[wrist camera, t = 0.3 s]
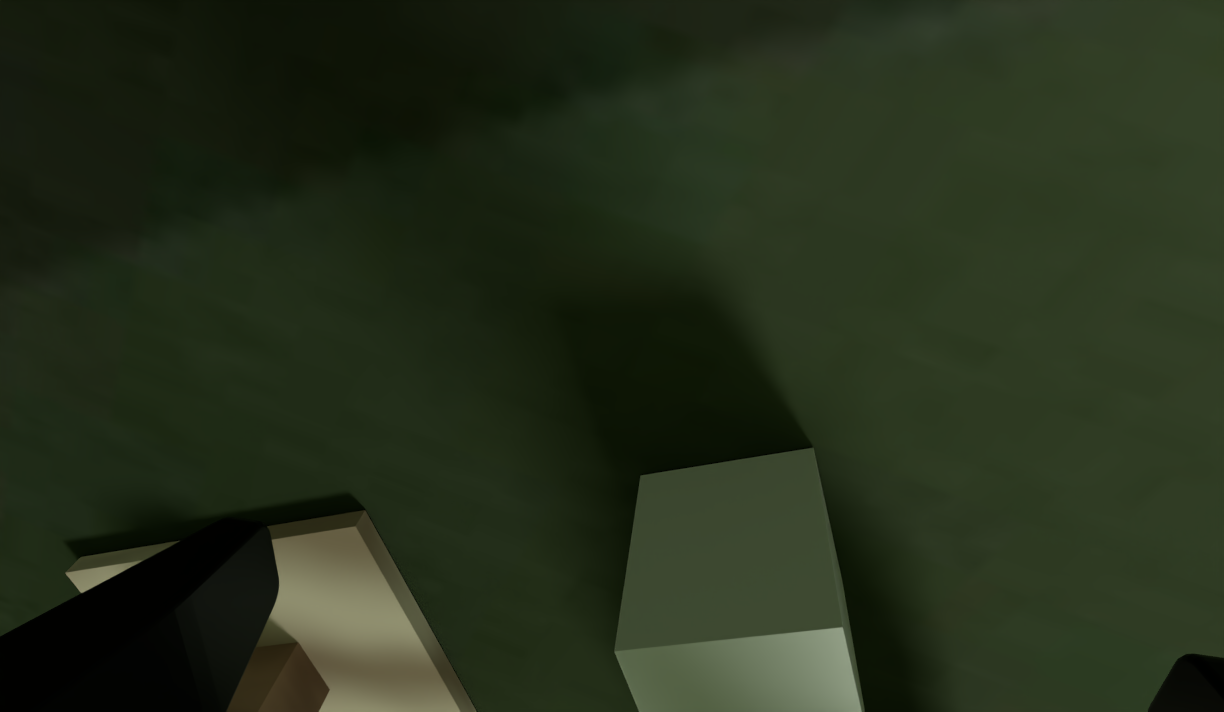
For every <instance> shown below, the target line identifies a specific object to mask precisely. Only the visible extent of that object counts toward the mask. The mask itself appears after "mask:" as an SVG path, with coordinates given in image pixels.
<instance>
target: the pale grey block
mask: <svg viewBox="0 0 1224 712" xmlns="http://www.w3.org/2000/svg"><path fill="white" fill-rule="evenodd" d="M614 652H615V655H616V657H617V659H618V662H619V664H620V667H621V669H622V671H623V674H624V676H625V679H626V681H627V683H628V686H629V688H630V691H631V693H632V696H633V698H634V700H635V703H636V705H637V708H638V710H639V712H865V709H864V703H863V698H862V692H861V686H860V680H859V675H858V669H857V663H856V657H855V652H854V646H853V640H852V634H851V628H850V623H849V617H848V611H847V605H846V600H845V594H844V588H843V582H842V577H841V572H840V568H839V563H838V559H837V554H836V549H835V545H834V540H833V535H832V531H831V526H830V522H829V517H828V512H827V508H826V503H825V499H824V494H823V489H822V485H821V480H820V475H819V471H818V466H817V462H816V457H815V452H814V448H808V449H802V450H795V451H789V452H783V453H777V454H771V455H764V456H758V457H752V458H746V459H740V460H733V461H727V462H721V463H715V464H709V465H703V466H696V467H690V468H684V469H678V470H672V471H665V472H659V473H653V474H647V475H641V476H640V483H639V489H638V496H637V503H636V509H635V516H634V523H633V529H632V536H631V543H630V549H629V556H628V563H627V569H626V576H625V583H624V589H623V596H622V603H621V609H620V616H619V623H618V629H617V636H616V643H615V649H614Z"/></svg>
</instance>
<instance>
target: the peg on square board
mask: <svg viewBox="0 0 1224 712" xmlns="http://www.w3.org/2000/svg"><path fill="white" fill-rule="evenodd" d="M267 527H268V528H269V530H270V534H271V538H272V544H273V549H274V554H275V560H276V565H277V570H278V576H279V591H278V596H277V599H276V602H275V605H274V607H273V610H272V612H271V614H270V616H269V618H268V621H267V623H266V625H265V627H264V630H263V632H262V634H261V636H260V638H259V641H258V643H257V645H256V647H255V650H254V652H253V654H252V656H251V659H250V661H249V663H248V665H247V667H246V670H245V672H244V674H243V676H242V679H241V681H240V683H239V685H238V687H237V690H236V692H235V694H234V696H233V699H232V701H231V703H230V705H229V708H228V710H227V712H477V711H476V709H475V708H474V706H473V704H472V702H471V700H470V698H469V697H468V695H467V693H466V691H465V689H464V688H463V686H462V684H461V682H460V680H459V679H458V677H457V675H456V673H455V671H454V670H453V668H452V666H451V664H450V662H449V661H448V659H447V657H446V655H445V653H444V652H443V650H442V648H441V646H440V644H439V642H438V641H437V639H436V637H435V635H434V633H433V632H432V630H431V628H430V626H429V624H428V623H427V621H426V619H425V617H424V615H423V614H422V612H421V610H420V608H419V606H418V605H417V603H416V601H415V599H414V597H413V595H412V594H411V592H410V590H409V588H408V586H407V585H406V583H405V581H404V579H403V577H402V576H401V574H400V572H399V570H398V568H397V567H396V565H395V563H394V561H393V559H392V558H391V556H390V554H389V552H388V550H387V549H386V547H385V545H384V543H383V541H382V539H381V538H380V536H379V534H378V532H377V530H376V529H375V527H374V525H373V523H372V521H371V520H370V518H369V516H368V514H367V512H366V511H365V510H363V511H357V512H351V513H345V514H339V515H332V516H326V517H320V518H314V519H308V520H302V521H296V522H290V523H284V524H278V525H272V526H267ZM177 542H179V541H175V542H169V543H163V544H157V545H151V546H145V547H139V548H133V549H126V550H120V551H114V552H108V553H102V554H96V555H90V556H84V557H80V558H79V559H78V560H77V561H76V562H75V563H74V564H73V565H72V566H71V567H70V568H69V569H68V570H67V571H66V572H65V573H66V574H67V576H68V577H69V578H70V579H71V581H72V582H73V583H74V584H75V586H76V587H77V588H78V589H79V591H80V592H81V593H83V592H85V591H87V590H89V589H91V588H92V587H94V586H96V585H98V584H100V583H102V582H104V581H106V580H107V579H109V578H111V577H113V576H115V575H117V574H119V573H121V572H123V571H124V570H126V569H128V568H130V567H132V566H134V565H136V564H138V563H140V562H141V561H143V560H145V559H147V558H149V557H151V556H153V555H155V554H156V553H158V552H160V551H162V550H164V549H166V548H168V547H170V546H172V545H173V544H175V543H177Z"/></svg>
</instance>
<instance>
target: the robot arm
mask: <svg viewBox="0 0 1224 712" xmlns="http://www.w3.org/2000/svg"><path fill="white" fill-rule="evenodd" d="M278 591H279V576H278V570H277V565H276V560H275V554H274V549H273V544H272V538H271V534H270V530H269V528H268V527H267V525H266V524H265V523H262V522H260V521H255V520H248V519H241V518H234V517H230V518H224V519H221V520H219V521H217V522H215V523H213V524H211V525H209V526H207V527H205V528H204V529H202V530H200V531H198V532H196V533H194V534H192V535H190V536H188V537H187V538H185V539H183V540H181V541H179V542H177V543H175V544H173V545H172V546H170V547H168V548H166V549H164V550H162V551H160V552H158V553H156V554H155V555H153V556H151V557H149V558H147V559H145V560H143V561H141V562H140V563H138V564H136V565H134V566H132V567H130V568H128V569H126V570H124V571H123V572H121V573H119V574H117V575H115V576H113V577H111V578H109V579H107V580H106V581H104V582H102V583H100V584H98V585H96V586H94V587H92V588H91V589H89V590H87V591H85V592H83V593H81V594H79V595H77V596H75V597H74V598H72V599H70V600H68V601H66V602H64V603H62V604H60V605H59V606H57V607H55V608H53V609H51V610H49V611H47V612H45V613H43V614H42V615H40V616H38V617H36V618H34V619H32V620H30V621H28V622H27V623H25V624H23V625H21V626H19V627H17V628H15V629H13V630H11V631H10V632H8V633H6V634H4V635H2V636H0V712H227V710H228V708H229V705H230V703H231V701H232V699H233V696H234V694H235V692H236V690H237V687H238V685H239V683H240V681H241V679H242V676H243V674H244V672H245V670H246V667H247V665H248V663H249V661H250V659H251V656H252V654H253V652H254V650H255V647H256V645H257V643H258V641H259V638H260V636H261V634H262V632H263V630H264V627H265V625H266V623H267V621H268V618H269V616H270V614H271V612H272V610H273V607H274V605H275V602H276V599H277V596H278ZM1148 712H1224V658H1220V657H1213V656H1206V655H1200V654H1186V655H1184V656H1182V657H1180V658H1179V659H1178V660H1177V661H1176V662H1175V664H1174V665H1173V667H1172V669H1171V671H1170V672H1169V674H1168V676H1167V677H1166V679H1165V681H1164V682H1163V684H1162V686H1161V688H1160V689H1159V691H1158V693H1157V694H1156V696H1155V698H1154V700H1153V701H1152V703H1151V705H1150V707H1149V709H1148Z"/></svg>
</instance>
